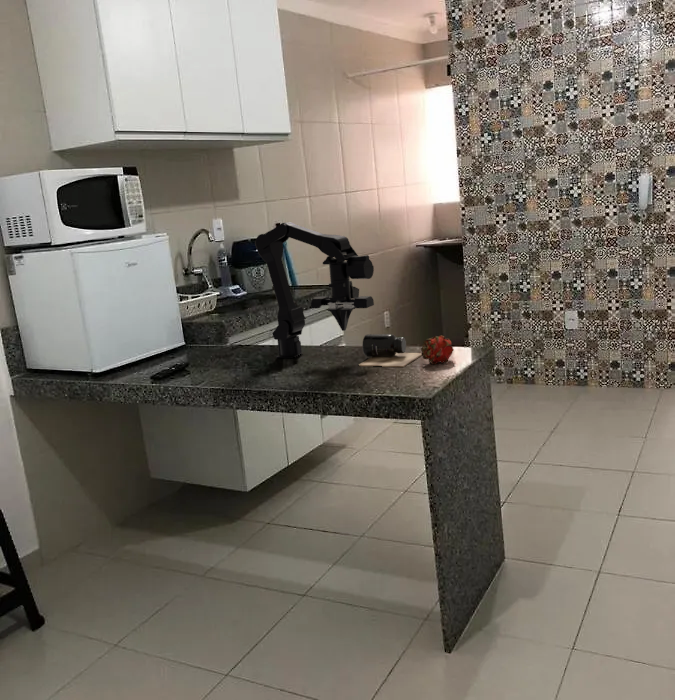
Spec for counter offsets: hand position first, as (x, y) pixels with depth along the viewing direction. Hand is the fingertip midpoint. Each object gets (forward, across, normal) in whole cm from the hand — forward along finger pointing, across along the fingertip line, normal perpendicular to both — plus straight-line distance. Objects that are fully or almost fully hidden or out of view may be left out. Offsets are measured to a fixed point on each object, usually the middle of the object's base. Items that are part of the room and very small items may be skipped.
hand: (343, 330), depth 225 cm
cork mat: (+9, -15, 0) cm, 17 cm away
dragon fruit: (+9, -30, +1) cm, 31 cm away
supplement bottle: (+5, -6, -2) cm, 8 cm away
